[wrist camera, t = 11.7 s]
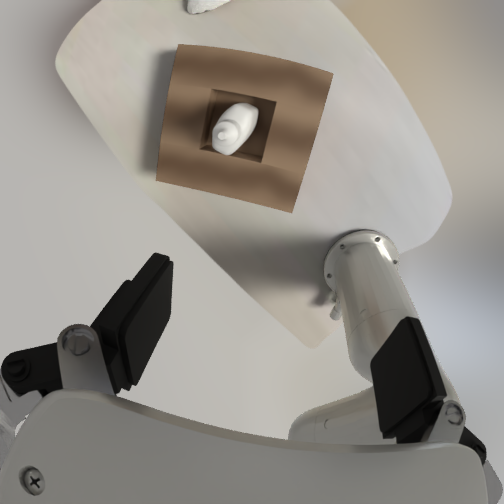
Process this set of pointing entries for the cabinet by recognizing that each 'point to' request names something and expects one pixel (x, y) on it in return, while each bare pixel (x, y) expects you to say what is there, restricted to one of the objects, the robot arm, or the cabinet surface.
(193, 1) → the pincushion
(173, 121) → the walnut socket block
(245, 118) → the eye dropper bottle
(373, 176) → the cabinet surface
